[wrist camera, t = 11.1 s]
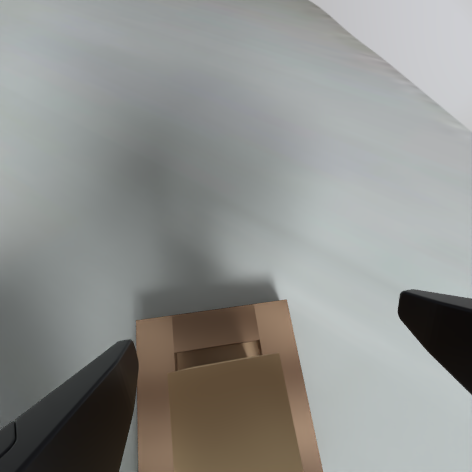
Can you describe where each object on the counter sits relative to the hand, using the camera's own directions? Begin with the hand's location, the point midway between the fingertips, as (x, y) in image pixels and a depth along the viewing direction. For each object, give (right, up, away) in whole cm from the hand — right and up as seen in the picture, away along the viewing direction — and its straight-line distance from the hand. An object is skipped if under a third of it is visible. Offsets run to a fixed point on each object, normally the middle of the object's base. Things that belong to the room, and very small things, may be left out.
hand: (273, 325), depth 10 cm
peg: (-2, -8, +11) cm, 14 cm away
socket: (-2, -8, +12) cm, 14 cm away
